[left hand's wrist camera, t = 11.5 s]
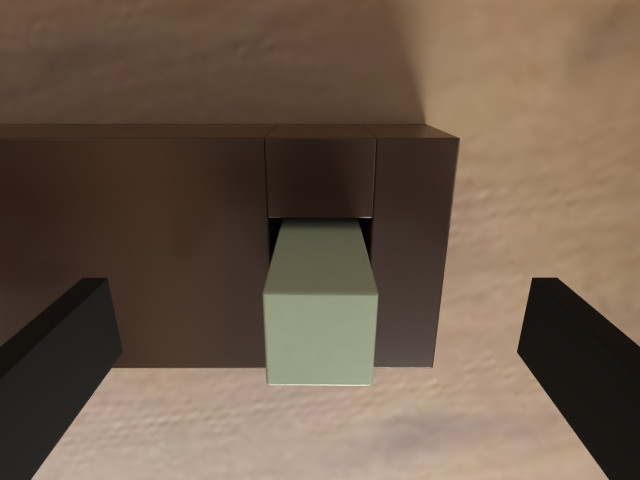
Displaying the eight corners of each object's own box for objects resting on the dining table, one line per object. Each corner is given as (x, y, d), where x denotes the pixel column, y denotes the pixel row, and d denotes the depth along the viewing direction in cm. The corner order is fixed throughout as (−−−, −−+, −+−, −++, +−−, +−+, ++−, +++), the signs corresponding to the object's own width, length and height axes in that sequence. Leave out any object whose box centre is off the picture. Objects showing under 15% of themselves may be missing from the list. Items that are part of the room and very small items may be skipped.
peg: (352, 196, 21) (379, 293, 11) (350, 255, 22) (372, 387, 12) (288, 196, 21) (261, 292, 11) (289, 254, 22) (266, 386, 12)
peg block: (427, 124, 19) (573, 184, 8) (410, 310, 23) (496, 529, 12) (-129, 123, 19) (-745, 184, 8) (-58, 309, 23) (-418, 528, 12)
